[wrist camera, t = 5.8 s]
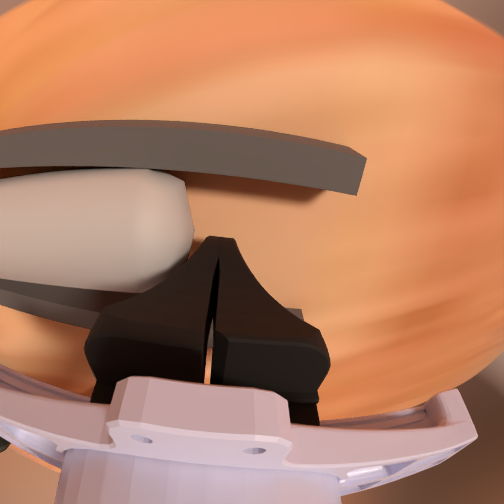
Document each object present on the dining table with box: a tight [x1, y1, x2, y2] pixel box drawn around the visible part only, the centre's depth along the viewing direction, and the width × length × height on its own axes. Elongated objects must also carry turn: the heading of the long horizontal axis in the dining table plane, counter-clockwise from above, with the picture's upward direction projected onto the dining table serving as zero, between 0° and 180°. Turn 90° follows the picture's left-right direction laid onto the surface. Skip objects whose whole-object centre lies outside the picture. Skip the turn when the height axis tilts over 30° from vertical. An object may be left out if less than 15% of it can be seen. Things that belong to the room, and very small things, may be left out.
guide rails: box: [0, 120, 367, 348], centre depth 12 cm, size 10×24×2 cm, turn 81°
